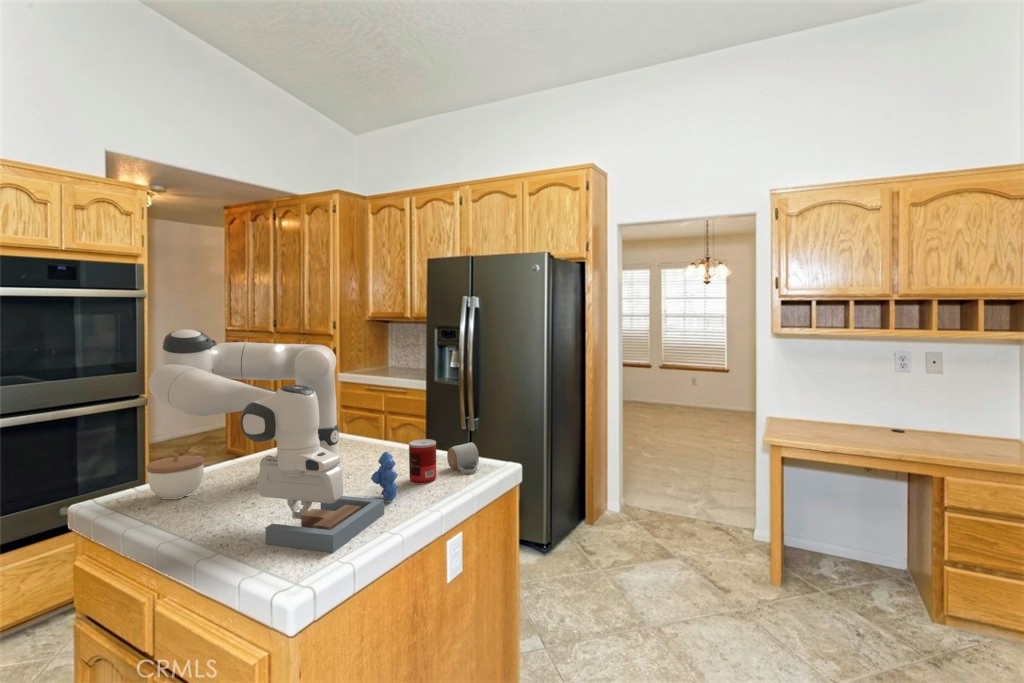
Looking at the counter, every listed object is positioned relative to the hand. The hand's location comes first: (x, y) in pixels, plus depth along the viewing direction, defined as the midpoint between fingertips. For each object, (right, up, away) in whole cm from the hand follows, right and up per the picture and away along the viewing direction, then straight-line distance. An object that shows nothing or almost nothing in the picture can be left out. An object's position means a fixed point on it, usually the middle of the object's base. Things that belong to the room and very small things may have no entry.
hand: (300, 518), depth 110 cm
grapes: (+15, -1, +16) cm, 22 cm away
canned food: (+22, -1, +32) cm, 39 cm away
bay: (+7, -2, -2) cm, 7 cm away
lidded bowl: (-42, -1, +20) cm, 47 cm away
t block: (+6, -2, -1) cm, 7 cm away
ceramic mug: (+33, 0, +41) cm, 53 cm away
